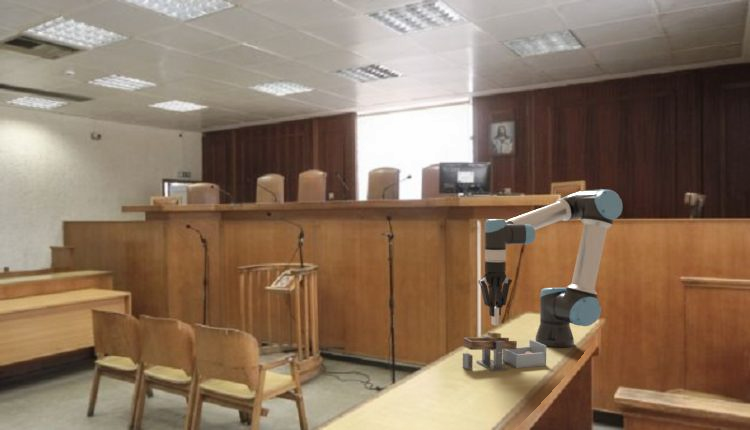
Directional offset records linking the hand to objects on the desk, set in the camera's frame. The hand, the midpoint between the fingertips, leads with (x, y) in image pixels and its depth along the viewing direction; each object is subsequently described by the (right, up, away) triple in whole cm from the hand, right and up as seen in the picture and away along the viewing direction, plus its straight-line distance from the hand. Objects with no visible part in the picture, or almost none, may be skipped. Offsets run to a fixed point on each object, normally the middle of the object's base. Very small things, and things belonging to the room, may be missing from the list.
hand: (495, 324), depth 198 cm
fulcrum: (-7, -12, -12) cm, 18 cm away
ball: (+10, -11, -6) cm, 16 cm away
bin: (+9, -12, -6) cm, 16 cm away
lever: (-6, -6, -7) cm, 11 cm away
